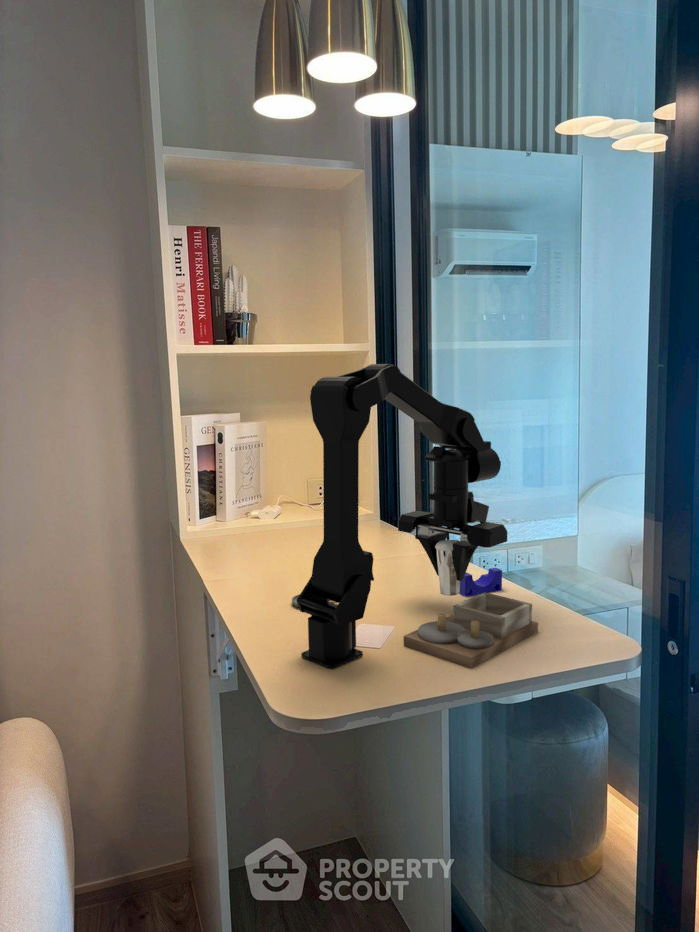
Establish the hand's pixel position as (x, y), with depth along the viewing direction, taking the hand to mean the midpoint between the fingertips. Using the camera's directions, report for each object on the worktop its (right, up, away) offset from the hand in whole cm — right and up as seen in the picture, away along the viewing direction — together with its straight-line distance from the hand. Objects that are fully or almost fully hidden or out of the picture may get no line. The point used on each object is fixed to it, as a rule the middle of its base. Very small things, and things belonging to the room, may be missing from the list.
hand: (450, 578), depth 119 cm
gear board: (+2, -7, -12) cm, 14 cm away
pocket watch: (-23, -6, +5) cm, 24 cm away
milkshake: (0, -3, 0) cm, 3 cm away
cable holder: (+7, -4, +11) cm, 14 cm away
